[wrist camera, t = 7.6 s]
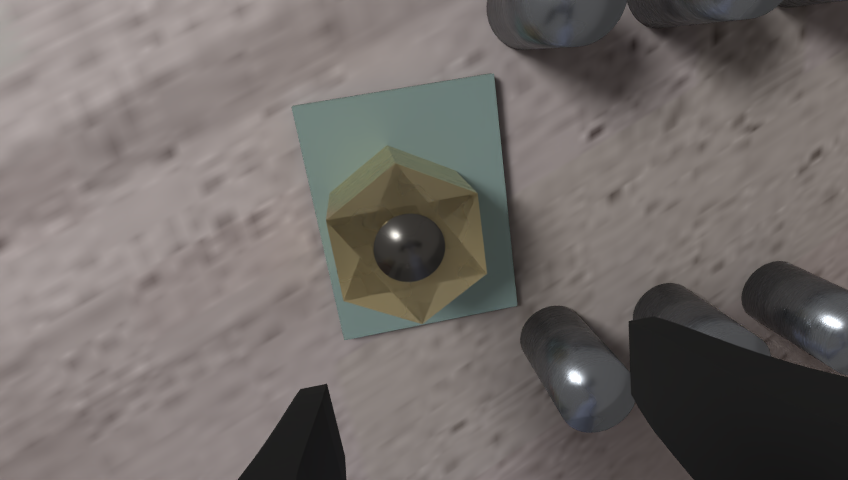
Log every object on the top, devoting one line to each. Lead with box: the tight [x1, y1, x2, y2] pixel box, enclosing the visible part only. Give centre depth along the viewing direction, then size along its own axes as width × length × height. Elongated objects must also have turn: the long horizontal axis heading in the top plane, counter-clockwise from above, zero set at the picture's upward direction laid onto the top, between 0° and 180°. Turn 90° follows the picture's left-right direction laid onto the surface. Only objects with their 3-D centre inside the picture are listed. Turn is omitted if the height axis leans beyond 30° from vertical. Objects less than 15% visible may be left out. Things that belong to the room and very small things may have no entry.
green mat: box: [292, 74, 517, 340], centre depth 20 cm, size 9×7×1 cm
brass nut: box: [326, 145, 487, 324], centre depth 18 cm, size 5×5×4 cm
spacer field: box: [487, 0, 848, 433], centre depth 19 cm, size 16×13×4 cm
